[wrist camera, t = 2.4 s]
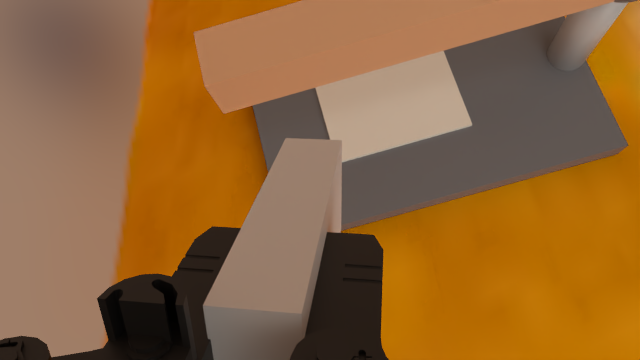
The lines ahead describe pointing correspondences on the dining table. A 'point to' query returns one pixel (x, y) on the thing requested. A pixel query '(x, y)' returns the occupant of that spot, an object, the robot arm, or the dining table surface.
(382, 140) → the base plate with post
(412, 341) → the dining table surface
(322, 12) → the swing bar
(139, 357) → the robot arm
